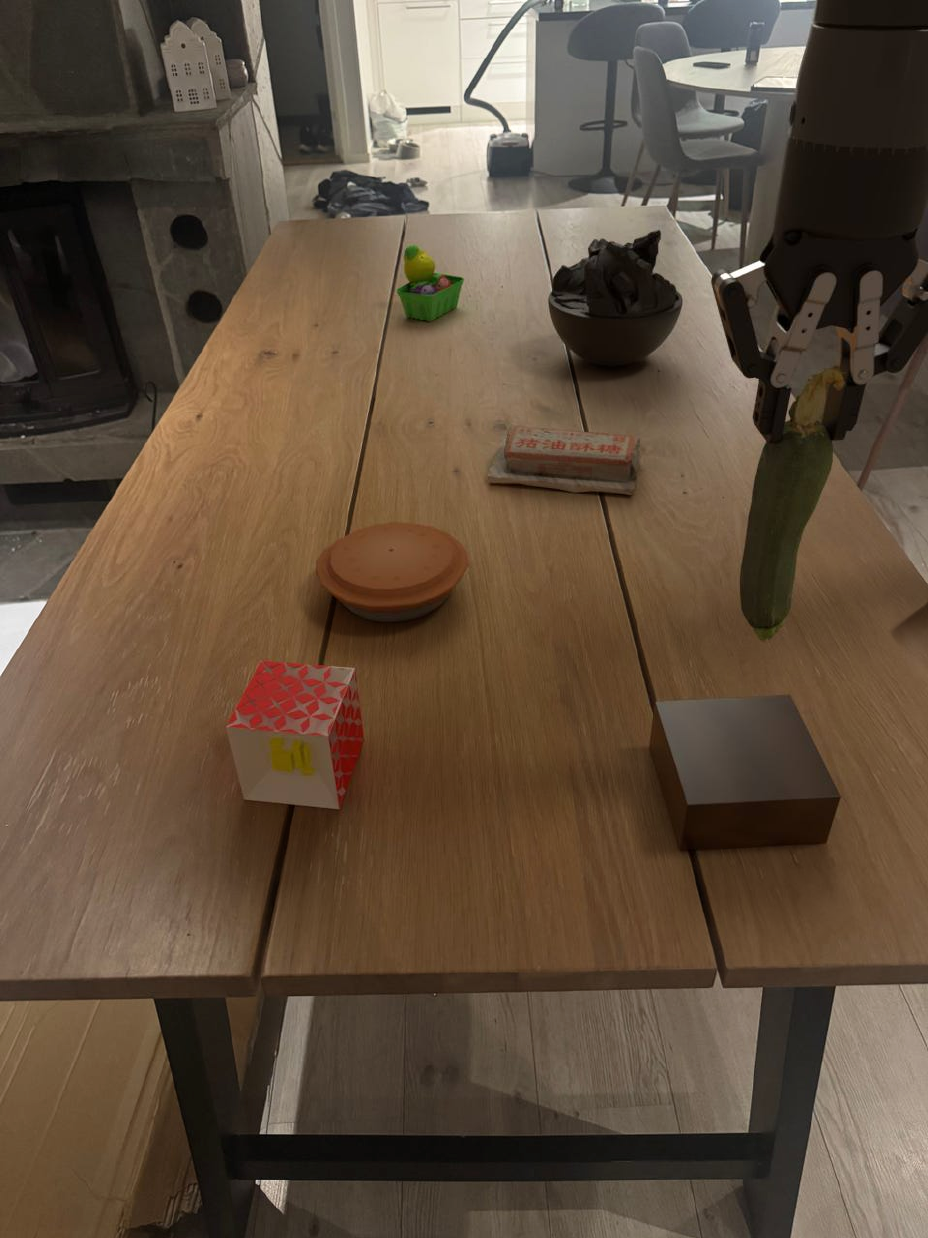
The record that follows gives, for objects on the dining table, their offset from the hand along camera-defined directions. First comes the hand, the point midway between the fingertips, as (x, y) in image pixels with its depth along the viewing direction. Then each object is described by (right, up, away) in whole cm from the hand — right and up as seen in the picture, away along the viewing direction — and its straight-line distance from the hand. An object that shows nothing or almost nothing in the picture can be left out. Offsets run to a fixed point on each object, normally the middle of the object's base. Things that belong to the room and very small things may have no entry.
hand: (801, 435), depth 58 cm
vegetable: (0, -12, +9) cm, 15 cm away
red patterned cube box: (-34, -24, +19) cm, 46 cm away
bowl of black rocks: (+2, +29, +88) cm, 92 cm away
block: (0, -25, +15) cm, 29 cm away
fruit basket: (-27, +43, +109) cm, 120 cm away
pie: (-28, -9, +39) cm, 49 cm away
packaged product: (-8, +7, +59) cm, 60 cm away
